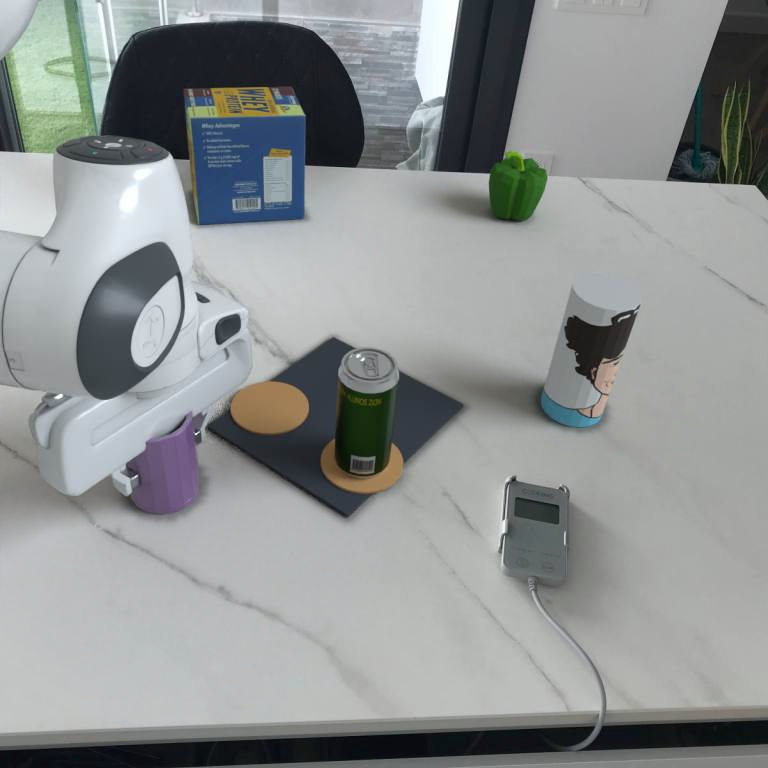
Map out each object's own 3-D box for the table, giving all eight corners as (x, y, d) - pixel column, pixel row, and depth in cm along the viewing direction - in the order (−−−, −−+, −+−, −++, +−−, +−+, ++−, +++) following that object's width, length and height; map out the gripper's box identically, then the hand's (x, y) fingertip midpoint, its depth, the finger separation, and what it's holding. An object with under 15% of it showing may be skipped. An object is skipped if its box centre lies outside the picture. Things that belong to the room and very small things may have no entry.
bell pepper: (538, 205, 121) (551, 144, 115) (538, 230, 115) (553, 166, 109) (484, 198, 122) (495, 136, 115) (482, 222, 115) (493, 158, 109)
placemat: (356, 523, 70) (356, 518, 69) (199, 423, 78) (199, 418, 78) (471, 411, 83) (472, 406, 82) (326, 335, 91) (326, 331, 90)
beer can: (394, 479, 73) (406, 382, 66) (337, 484, 72) (343, 386, 65) (383, 440, 77) (393, 344, 70) (330, 444, 76) (334, 347, 69)
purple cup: (162, 525, 68) (150, 453, 62) (116, 491, 70) (100, 418, 65) (214, 485, 72) (207, 413, 66) (168, 454, 74) (157, 382, 69)
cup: (588, 436, 81) (628, 319, 71) (530, 409, 84) (561, 292, 74) (611, 403, 85) (652, 288, 76) (555, 378, 88) (588, 264, 78)
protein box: (191, 192, 116) (181, 87, 106) (293, 187, 120) (293, 85, 110) (197, 226, 108) (187, 117, 98) (306, 219, 112) (307, 113, 102)
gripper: (53, 427, 52) (87, 555, 61) (262, 301, 66) (266, 421, 74) (-3, 387, 55) (38, 515, 64) (209, 274, 68) (219, 393, 77)
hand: (162, 463), depth 69 cm, fingers closed on purple cup, 6 cm apart
